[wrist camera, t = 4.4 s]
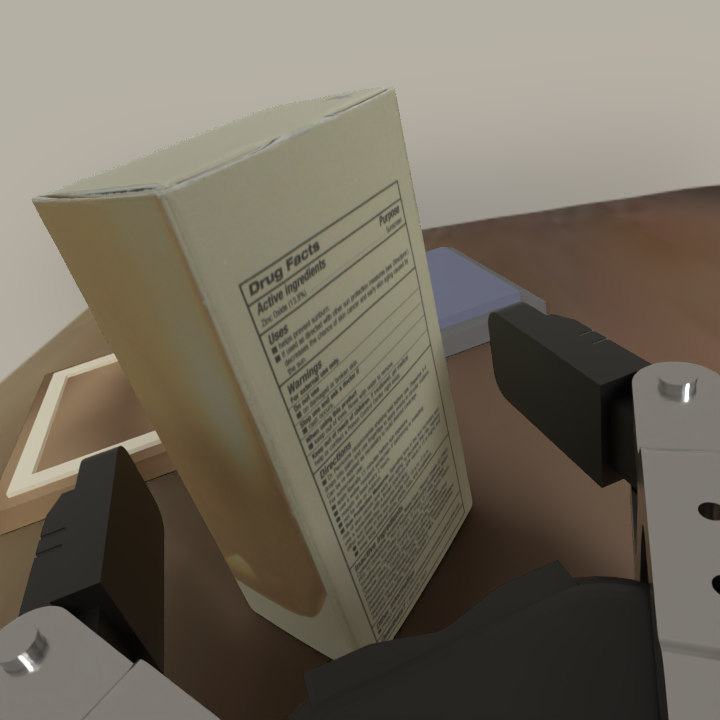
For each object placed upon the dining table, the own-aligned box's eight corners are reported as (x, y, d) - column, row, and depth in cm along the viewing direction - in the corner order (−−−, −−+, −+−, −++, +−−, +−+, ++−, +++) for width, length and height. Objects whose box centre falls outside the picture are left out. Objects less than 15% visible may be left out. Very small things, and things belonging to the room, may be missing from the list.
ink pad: (453, 261, 35) (450, 238, 34) (546, 320, 26) (544, 291, 26) (299, 313, 33) (293, 290, 33) (345, 393, 25) (337, 364, 24)
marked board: (257, 321, 34) (250, 303, 33) (295, 425, 23) (287, 402, 23) (53, 389, 32) (43, 371, 31) (-1, 535, 22) (-18, 513, 21)
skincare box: (366, 472, 20) (260, 105, 14) (479, 507, 17) (408, 77, 11) (239, 620, 16) (12, 190, 10) (362, 695, 13) (156, 174, 7)
